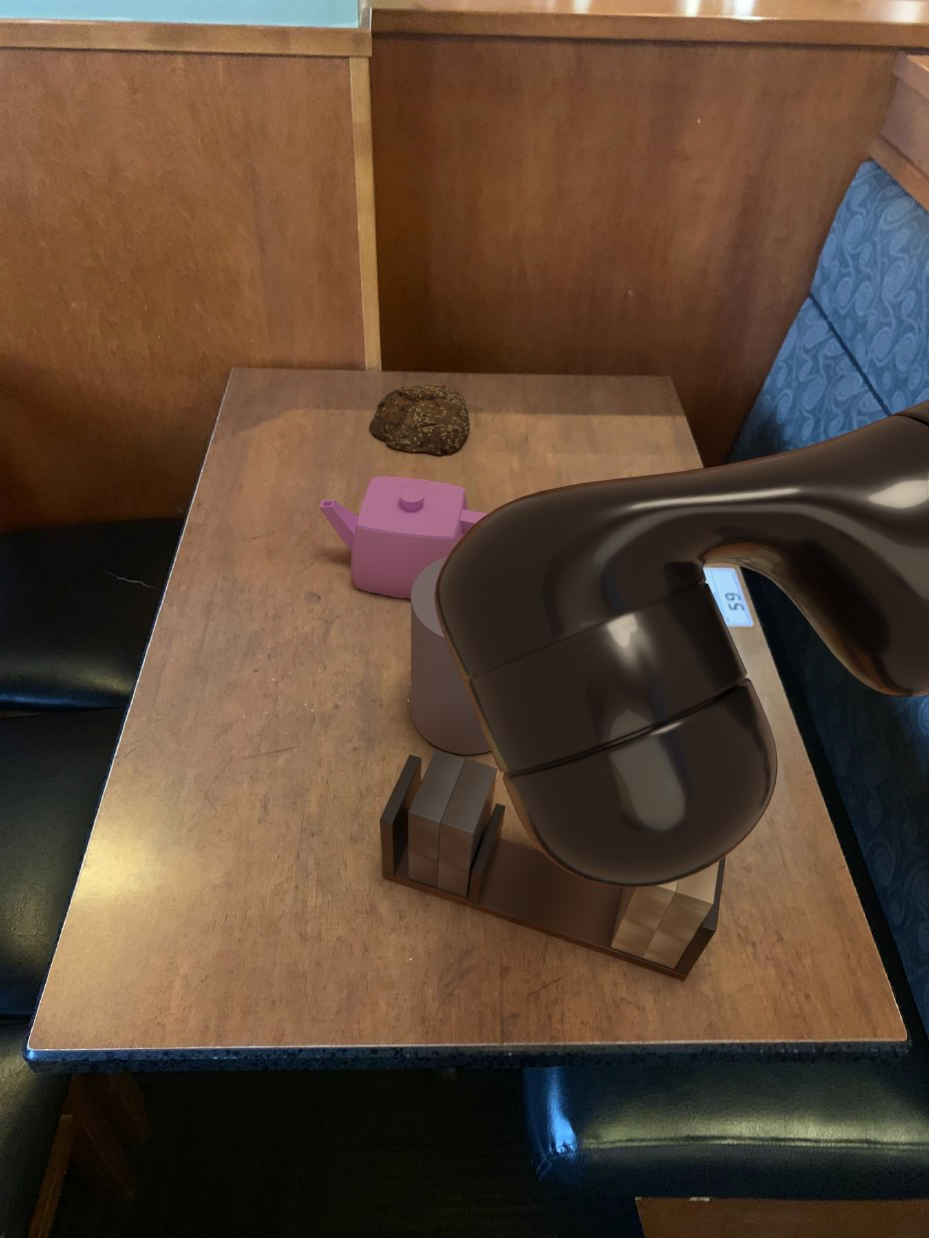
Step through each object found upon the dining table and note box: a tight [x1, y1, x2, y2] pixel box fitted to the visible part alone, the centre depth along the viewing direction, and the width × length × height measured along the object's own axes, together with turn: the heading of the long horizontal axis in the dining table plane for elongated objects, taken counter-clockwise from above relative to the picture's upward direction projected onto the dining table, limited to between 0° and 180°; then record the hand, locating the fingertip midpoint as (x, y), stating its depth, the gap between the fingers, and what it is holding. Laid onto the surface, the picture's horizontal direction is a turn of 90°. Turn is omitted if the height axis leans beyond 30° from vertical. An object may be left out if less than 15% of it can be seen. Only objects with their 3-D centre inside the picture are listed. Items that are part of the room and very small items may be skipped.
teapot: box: [318, 475, 488, 600], centre depth 88 cm, size 18×10×10 cm, turn 82°
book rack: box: [379, 749, 727, 982], centre depth 62 cm, size 24×6×12 cm, turn 71°
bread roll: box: [368, 383, 471, 456], centre depth 107 cm, size 13×12×5 cm
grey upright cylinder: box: [410, 557, 491, 755], centre depth 73 cm, size 10×10×15 cm
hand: (619, 646), depth 56 cm, fingers closed on cream book, 2 cm apart
